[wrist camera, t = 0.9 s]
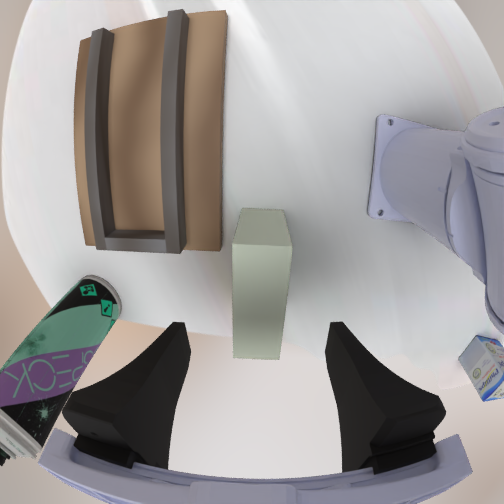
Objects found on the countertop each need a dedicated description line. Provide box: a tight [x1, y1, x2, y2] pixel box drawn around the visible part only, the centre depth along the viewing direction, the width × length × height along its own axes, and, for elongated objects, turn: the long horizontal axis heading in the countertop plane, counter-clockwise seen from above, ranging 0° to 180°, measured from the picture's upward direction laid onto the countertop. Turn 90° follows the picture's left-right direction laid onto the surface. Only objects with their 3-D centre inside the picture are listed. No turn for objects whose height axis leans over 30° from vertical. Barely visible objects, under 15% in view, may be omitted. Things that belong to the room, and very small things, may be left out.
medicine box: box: [459, 336, 504, 402], centre depth 22 cm, size 8×4×9 cm, turn 72°
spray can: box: [0, 275, 121, 466], centre depth 15 cm, size 6×6×20 cm
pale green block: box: [232, 208, 293, 360], centre depth 18 cm, size 3×8×7 cm, turn 178°
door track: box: [74, 9, 228, 254], centre depth 16 cm, size 12×18×3 cm, turn 178°
